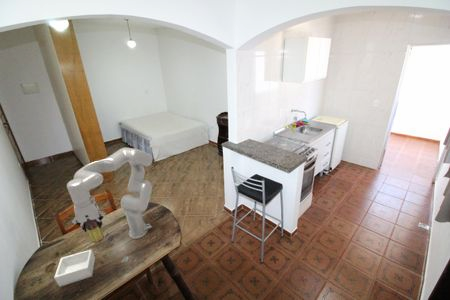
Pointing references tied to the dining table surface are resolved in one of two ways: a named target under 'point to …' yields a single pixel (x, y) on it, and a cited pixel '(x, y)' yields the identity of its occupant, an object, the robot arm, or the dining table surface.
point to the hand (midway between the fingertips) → (93, 227)
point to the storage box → (75, 268)
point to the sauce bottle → (94, 230)
